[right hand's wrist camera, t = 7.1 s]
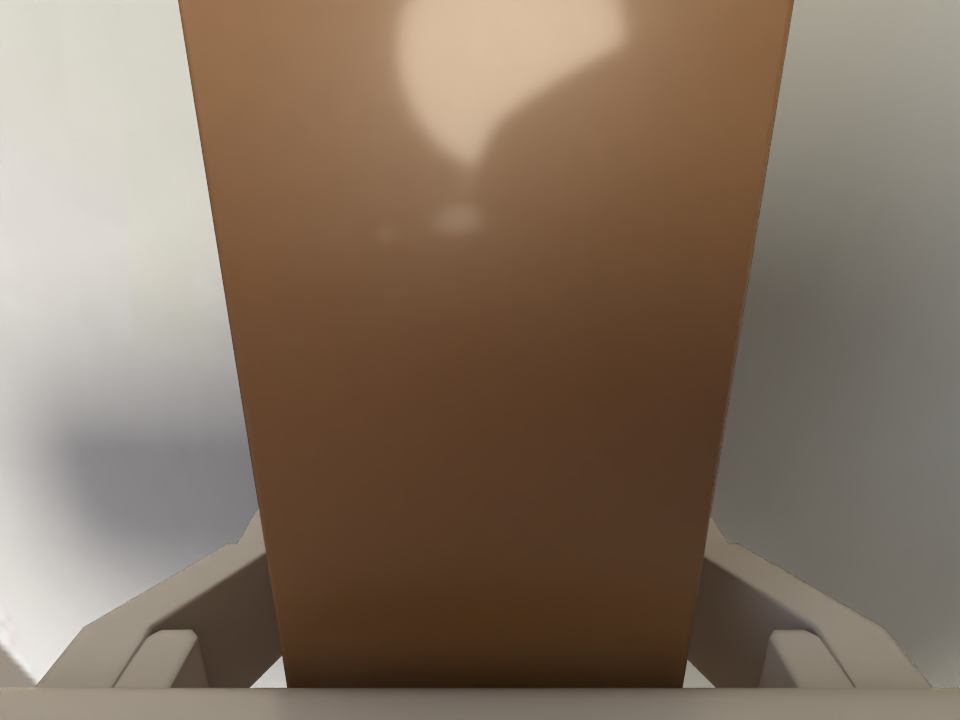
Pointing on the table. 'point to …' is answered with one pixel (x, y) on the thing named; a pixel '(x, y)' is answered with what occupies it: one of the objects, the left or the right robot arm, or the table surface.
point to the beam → (485, 318)
